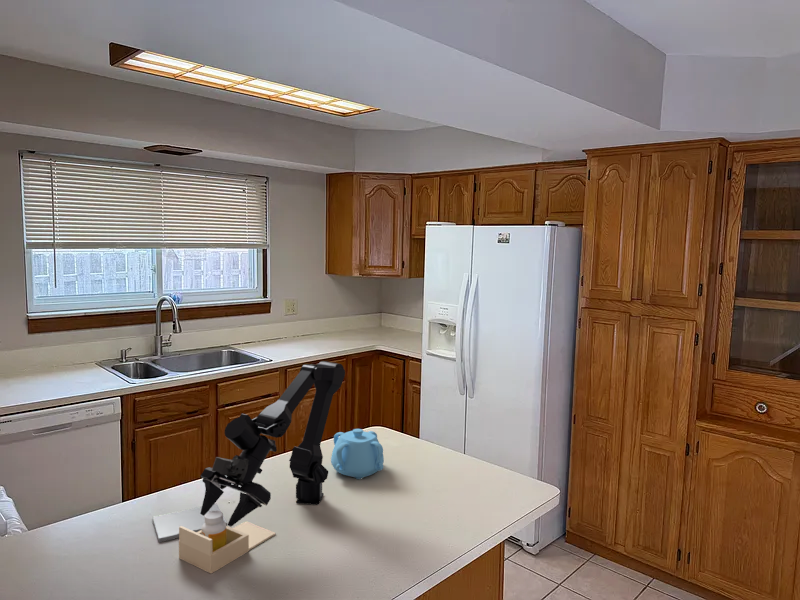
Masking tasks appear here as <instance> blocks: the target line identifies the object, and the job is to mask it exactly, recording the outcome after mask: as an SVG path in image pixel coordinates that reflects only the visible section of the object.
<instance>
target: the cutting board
mask: <svg viewBox="0 0 800 600" xmlns="http://www.w3.org/2000/svg"><path fill="white" fill-rule="evenodd" d="M201 508H202V505H201V506H198V507H197V506H196V507H191V508H187V509H183V510H177V511H173V512H169V513H164V514H159V515H154V516H152V522H153V523H154V524H153V523H152V524H153V526H154V531H155V534H156V537H157V539H158V543H162V541H163V542H166V540H167V541H171V540H174V539H175V538H176V539H179V527H180V526H183V527H185V528H187V529H190V530H192V531H194V532H198V531H200V530H202V525H203V524H204V523H205V515H204V516H203V515H201V514H200V513H201ZM210 511H221V512H222V510H221V508H220V507H219V505H218V504H217V503H216V502H215V504H214V505H213V506H212V507H211V508H210V510H209V511H208V512H210ZM208 512H207V513H208ZM223 521H224V522H225V523H226V526H228V522H227V520H226V518H225V516H224V515H223Z"/></svg>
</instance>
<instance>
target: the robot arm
mask: <svg viewBox="0 0 800 600" xmlns="http://www.w3.org/2000/svg"><path fill="white" fill-rule="evenodd" d="M345 377H346V370H345V367H344V366H343V364H342V363H337V362H332V361H326V360H325V361H324V360H321V361H320V362H319V363H311V364H307V363H306V364H303V365H302V366H301V367H300V369H299V372H298V373H297V375H296V376H295V378H294V379H292V382H291V383H290V384H289V385H288V387H286V389H285V391H284V392H283V393H282V394H281V395H280V397H279V398H278V399H277V400H276V401H275V402H274V403H271V404H269V405H268V406H266V407H265V408H264V409H263V410H262V411H261V412H260V413H258V415H257V416H255V417H254V418H251V417H250V416H249V415H248V414H246V413H240V415H239V417H236V418H233V419H232V420H231V421H230V422H228V423H227V424H226V427H225V428H224V436H225V437H226V439H228V440H229V441H230V442H232V443H233V444H234V445H235V446H236V447H237V448H238V449H240V450H241V453H240V454H239V455H237V454H235V455H233V457H232V459H230V458H229V459H228V458H223V457H220V456H216V457H215V459H214V462H213V465H212V467H211V466H210V467H206V468H204V470H203V471H202V473H201V474H200V477H201V478H202V483H204V487H205V490H204V496H203V501H202V505H201V506H202V508H201V513H200V514H201V515H203V516H204V515H205V514H206V513H207V512H208V511H209V510H210V508H211V507H212V506H213V505H214V504H216V502H217V501H218V500H219V499H220V498H221V497H222V495H224V493H225V492H224V489H226V488H227V487H228V488H230V489H233V490H235V491H239V501H238V503H237V505H236V506H235V508H234V510H233V512H232V514H231V516H230V518H229V520H228V522H227V526H228V527H231V528H232V527H233V526H234V525H235V524H236V523H238V522H239V521H241V520H242V519H243V518H245V517H246V516H247V515H249V514H250V513H252V512H253V511H254V510H256V509H258V508H262V507H263V505H265V506H268V504H269V502H271V496H272V495H271V494H272V493H271V492H270V491H269V490H268V489H266V488H265V487H264V486H263V485H262V484H260V483H258V482H254V481H253V480H254V479H255V477H256V476H257V474H259V475H261V473H262V472H263V469H262V468H261V467H262V465H263V463H264V461H265V459H266V458H267V456H268V455H269V453H270V451H271V452H274V453H275V452H277V451H278V450H277V445H276V440H275V439H271V438H268V437H273V438H276V439H277V438H281V437H283V436H284V435H285V434H286V432H287V430H288V429H289V426H291V424H292V419H293V417H292V416H293V414H294V412H295V410H296V409H297V407H298V405H300V403H301V402H302V401H303V400H304V398H305V397H306V395H307V394H308V393H309V391H310V389H311V388H312V387H313V386H314V388H315V393H314V398H313V401H312V404H311V407H310V408H311V409H310V413H309V416H308V420H307V423H306V426H305V431H304V434H303V435H304V436H303V439H302V442H301V443H299V445H298V446H293V447H292V450H291V456H290V458H289V460H288V461H289V469H290V471H291V473H292V477H293V478H295V479H297V482H296V484H295V498H296V501H295V503H296V504H299V505H313V506H316V505H317V506H319V505H320V504H321V502H322V499H323V498H324V495H325V494H324V492H323V484H324V483H326V482H325V481H326V480H328V476H329V470H328V469H327V468H326V467H325V466H324V465H323V459H324V456H323V452H322V449H321V443H322V440H323V439H322V438H323V435H324V432H325V428H326V425H327V424H326V423H327V419H328V416H329V413H330V409H331V404H332V401H333V397H334V395H335V394H336V392H337V391H338V390H339V389H341V386H342V385H343V381H344V378H345ZM261 434H262V435H261ZM267 436H268V437H267Z"/></svg>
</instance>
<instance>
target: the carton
mask: <svg viewBox="0 0 800 600" xmlns="http://www.w3.org/2000/svg"><path fill="white" fill-rule="evenodd" d="M275 535H276V532H274V531H272V530H270V529H267V528H264V527H262V526H259V525H257V524H254V523H252V522H250V521H244V522H242V523H240V524H238V525H236V526H234V527H232V526H231V527H230V526H228V525H227V526H226V545H225V546H223V547H221V548H220V549H218V550H216V551H214V552H213V549H212V539H210V538H208V537H206V536H203V535H202V530H200V531H198V532H194V531H192V530H190V529H187V528H185V527H183V526H180V527H179V538H178V539H179V540H178V558H179V559H180V560H182V561H183V562H186V563H187V564H190V565H192V566H194V567H197V568H199V569H201V570H202V571H205V572H207V573H209V574H213V573H215V572H216V571H218V570H220V569H222V568H223V567H225V566H227V565H228V564H230V563H231V562H234V561H235V560H236V559H238V558H240V557H241V556H243V555H244V554H246V553H249V551H250V550H252V549H254V548H255V547H257V546H259V545H260V544H262V543H263V542H265V541H267V540H269V539H271V538H272V537H274V536H275Z"/></svg>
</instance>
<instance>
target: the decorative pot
mask: <svg viewBox="0 0 800 600" xmlns="http://www.w3.org/2000/svg"><path fill="white" fill-rule="evenodd" d="M333 445H334V446H333V449H332V453H331V458H330V459H331V460H330V462H331V466H332V467H333V469H334V470H335V471H336V472H337V473H339V474H340V473H341V475H343V476H348V477H353V478H354V479H355V478H356V479H355V480H362V479H364V478H366V477H369V476H372V475H373V474H375V473H377V472H381V471H383V470H384V460H385V458H384V447H383V445H382V444H381V443H380V441H379V439H378V434H377V432H376V431H373V430H369V431H364V430H363V428H353V429H352V430H350V431H346V432H342V431H339V432H336V433H335V434H334V435H333ZM361 478H362V479H361Z"/></svg>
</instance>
